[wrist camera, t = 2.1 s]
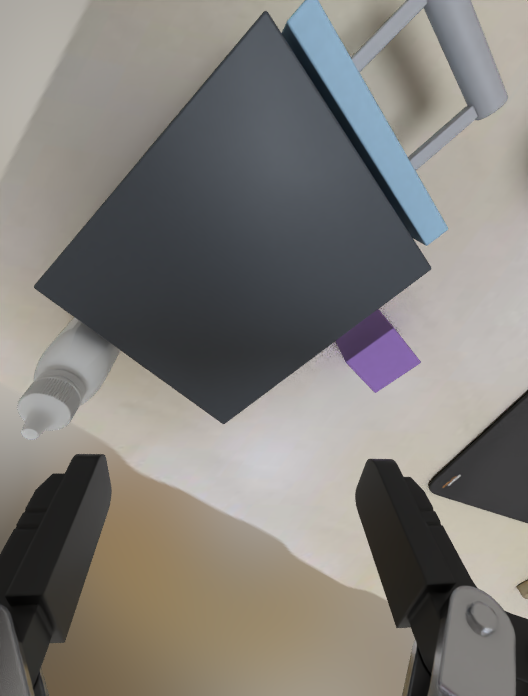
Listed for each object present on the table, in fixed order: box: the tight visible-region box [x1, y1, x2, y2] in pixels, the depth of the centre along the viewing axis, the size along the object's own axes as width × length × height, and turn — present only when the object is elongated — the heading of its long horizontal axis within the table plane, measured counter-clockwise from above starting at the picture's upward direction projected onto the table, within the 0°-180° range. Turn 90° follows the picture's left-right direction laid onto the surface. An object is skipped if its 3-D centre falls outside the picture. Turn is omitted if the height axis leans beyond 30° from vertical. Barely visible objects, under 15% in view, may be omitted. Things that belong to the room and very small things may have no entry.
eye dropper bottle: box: [17, 317, 120, 440], centre depth 21 cm, size 4×6×12 cm
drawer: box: [281, 0, 508, 246], centre depth 18 cm, size 18×11×7 cm, turn 132°
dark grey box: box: [34, 11, 431, 424], centre depth 19 cm, size 14×12×9 cm
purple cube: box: [336, 309, 421, 393], centre depth 27 cm, size 4×4×4 cm
